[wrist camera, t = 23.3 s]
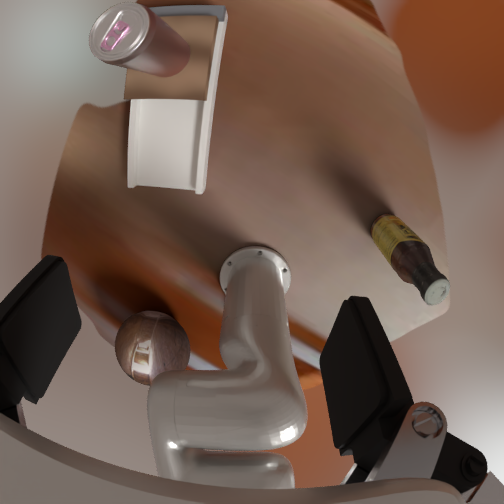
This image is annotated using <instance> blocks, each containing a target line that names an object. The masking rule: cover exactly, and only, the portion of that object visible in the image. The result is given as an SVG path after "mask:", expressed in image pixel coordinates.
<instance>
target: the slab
mask: <svg viewBox="0 0 504 504" xmlns="http://www.w3.org/2000/svg"><path fill="white" fill-rule="evenodd" d="M160 18H161V19H162V20H163V21H164V22H165V23H167V24H168V25H169V26H170V27H171V28H172V29H173V30H174V31H176V32H177V33H178V34H179V35H180V36H181V37H182V38H183V39H184V40H185V41H186V42H187V43H188V45H189V47H190V59H189V62H188V63H187V65H186V66H185V68H184V69H183V70H182V71H181V72H179V73H178V74H176V75H174V76H171V77H158V76H154V75H151V74H147V73H143V72H140V71H136V70H132V69H128V68H127V74H126V83H125V93H124V99H180V100H201V101H207V94H208V87H209V80H210V73H211V66H212V59H213V53H214V47H215V41H216V35H217V29H218V24H219V20H218V18H217V16H165V17H160Z"/></svg>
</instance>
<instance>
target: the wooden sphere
mask: <svg viewBox="0 0 504 504" xmlns="http://www.w3.org/2000/svg"><path fill="white" fill-rule="evenodd" d="M115 352H116V357H117V360H118V362H119V364H120V366H121V368H122V369H123V371H124V372H125V373H126V374H127V375H128V376H129V377H130V378H132V379H133V380H135V381H137V382H139V383H141V384H144V385H149V386H150V384H151V382H152V380H153V379H154V378H155V377H156V376H157V375H158V374H160V373H162V372H164V371H169V370H185V369H186V367H187V364H188V362H189V358H190V344H189V340H188V337H187V334H186V332H185V331H184V329H183V328H182V326H181V325H180V324H179V323H178V322H177V321H176V320H175V319H173V318H172V317H170V316H169V315H167V314H164V313H161V312H157V311H143V312H139V313H137V314H134V315H133V316H131V317H129V318H128V319H127V320H126V321H125V322H124V323H123V324H122V326H121V327H120V329H119V331H118V333H117V336H116V340H115Z"/></svg>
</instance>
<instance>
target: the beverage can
mask: <svg viewBox="0 0 504 504" xmlns="http://www.w3.org/2000/svg"><path fill="white" fill-rule="evenodd" d="M89 46H90V49H91V51H92V53H93V54H94V55H95V56H96V57H97V58H99V59H100V60H101V61H103V62H105V63H107V64H111V65H116V66H120V67H124V68H128V69H132V70H136V71H140V72H143V73H147V74H151V75H154V76H158V77H171V76H174V75H176V74H178V73H179V72H181V71H182V70H183V69H184V68H185V66H186V65H187V63H188V62H189V59H190V47H189V45H188V43H187V42H186V41H185V40H184V39H183V38H182V37H181V36H180V35H179V34H178V33H177V32H176V31H174V30H173V29H172V28H171V27H170V26H169V25H168V24H167V23H165V22H164V21H163V20H162V19H161V18H160V17H159V16H157V15H156V14H155V13H154V12H153V11H151V10H150V9H149V8H148V7H146V6H144V5H141V4H137V3H133V2H124V3H120V4H117V5H114V6H112V7H111V8H109V9H107V10H106V11H105V12H104V13H103V14H101V15H100V16H99V18H98V19H97V20H96V22H95V23H94V25H93V27H92V29H91V32H90V36H89Z"/></svg>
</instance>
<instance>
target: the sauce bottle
mask: <svg viewBox="0 0 504 504" xmlns="http://www.w3.org/2000/svg"><path fill="white" fill-rule="evenodd" d="M371 236H372V238H373V241H374V243H375V244H376V245H377V247H378V248H379V250H380V251H381V252H382V254H383V255H384V257H385V258H386V259H387V261H388V262H389V264H390V265H391V267H392V268H393V269H394V270H395V271H396V272H397V274H398V276H399V277H400V278H401V279H402V280H403V281H404V282H407V283H410V284H414V285H415V287H417V288H418V290H419V291H420V294H421V297H422V298H423V300H424V301H425V302H426V303H427V304H428V305H436V304H439V303H440V302H442V301H443V300H444V299H445V298H446V296H447V295H448V293H449V289H450V283H449V281H448V279H447V278H446V277H445V276H444V275H443V274H441V273H440V272H439V271H438V270H437V268H436V267H435V264H434V261H433V258H432V255H431V252H430V249H429V247H428V246H427V245H426V244H425V243H424V242H423V241H422V240H421V239H420V238H419V237H418V236H417V235H416V234H415V233H414V232H413V231H412V230H411V229H410V228H409V227H408V226H407V225H406V224H405V223H404V222H403V221H401V220H400V219H399V218H398V217H396V216H394V215H391V214H383V215H381V216H379V217H378V218H377V219H376V220H375V221H374V223H373V225H372V228H371Z"/></svg>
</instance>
